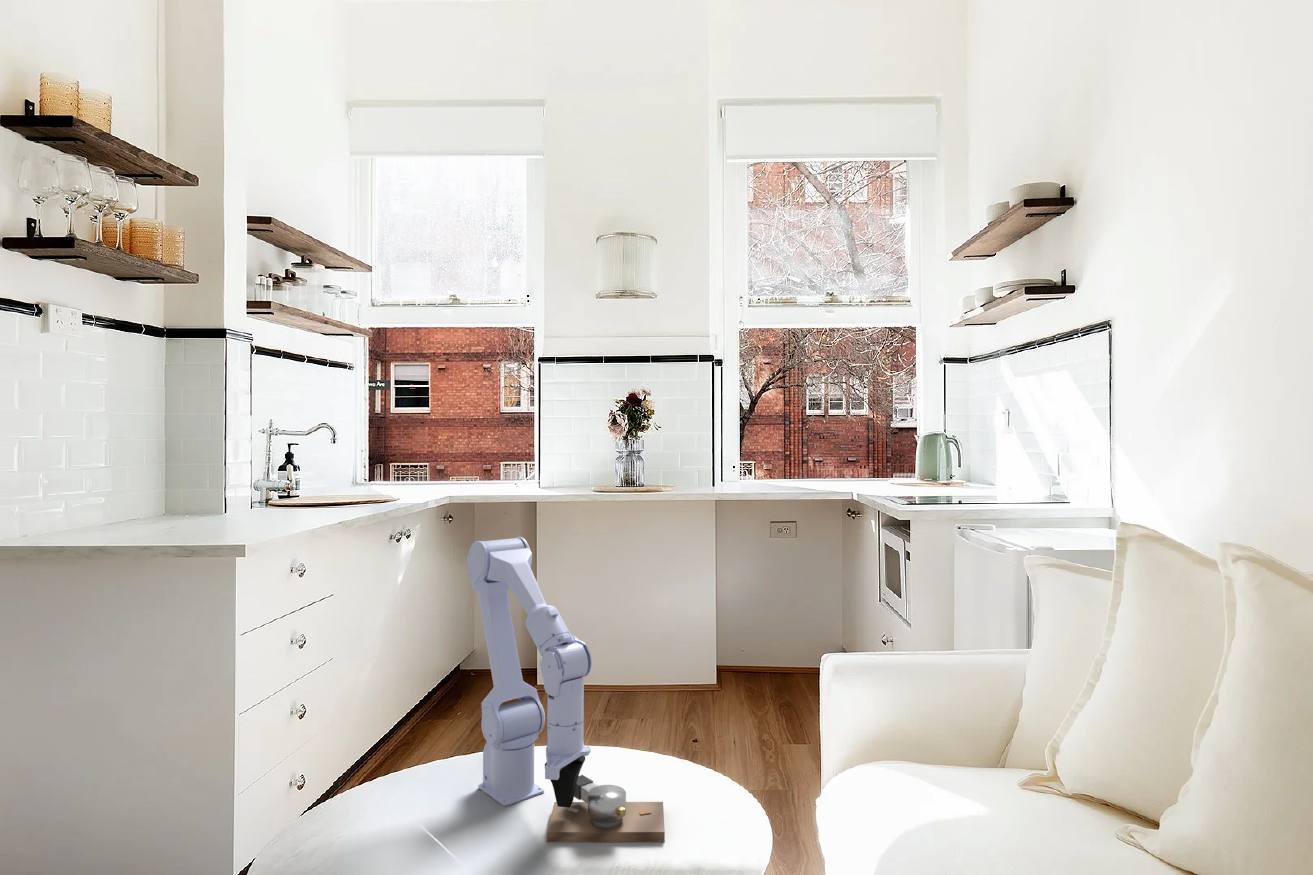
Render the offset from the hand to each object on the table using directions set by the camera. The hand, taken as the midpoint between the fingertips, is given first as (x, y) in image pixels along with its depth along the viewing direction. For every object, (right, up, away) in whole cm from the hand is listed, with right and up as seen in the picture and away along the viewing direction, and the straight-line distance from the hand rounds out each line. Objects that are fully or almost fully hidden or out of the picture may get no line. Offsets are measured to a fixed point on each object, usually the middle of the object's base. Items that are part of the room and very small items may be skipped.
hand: (564, 804), depth 122 cm
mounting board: (+7, -3, 0) cm, 8 cm away
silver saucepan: (+5, -1, +1) cm, 5 cm away
